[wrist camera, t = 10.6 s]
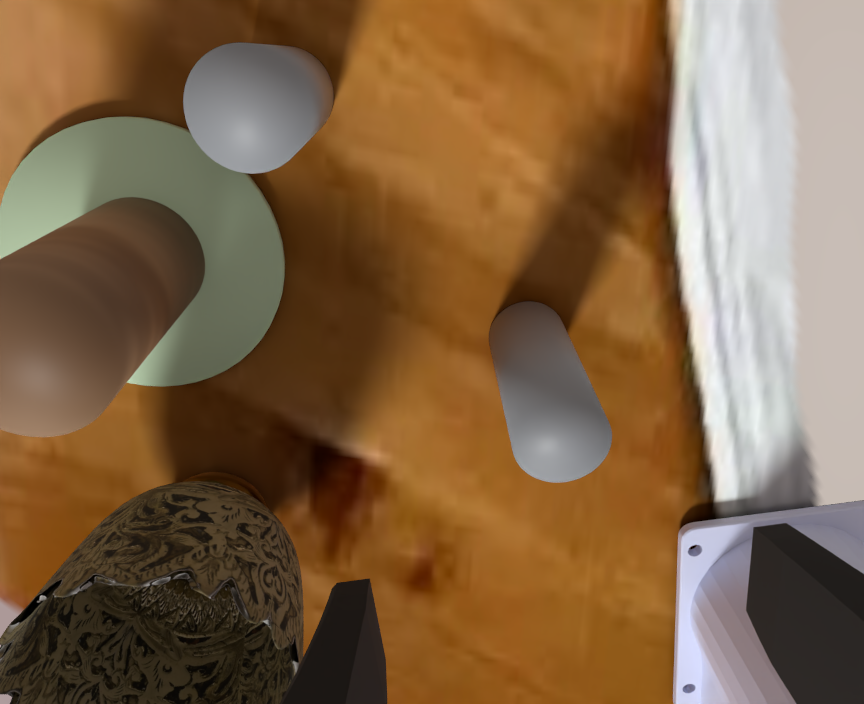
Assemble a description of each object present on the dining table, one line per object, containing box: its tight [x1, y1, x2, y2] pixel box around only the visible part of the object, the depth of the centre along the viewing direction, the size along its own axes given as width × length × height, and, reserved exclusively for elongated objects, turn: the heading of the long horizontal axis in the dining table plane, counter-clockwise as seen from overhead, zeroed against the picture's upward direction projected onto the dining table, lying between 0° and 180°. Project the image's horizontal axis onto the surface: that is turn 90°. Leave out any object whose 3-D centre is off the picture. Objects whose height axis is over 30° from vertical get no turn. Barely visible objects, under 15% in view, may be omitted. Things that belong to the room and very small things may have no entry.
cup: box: [0, 472, 303, 704], centre depth 21 cm, size 8×7×8 cm
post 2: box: [489, 301, 612, 482], centre depth 20 cm, size 2×2×6 cm
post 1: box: [183, 42, 334, 174], centre depth 16 cm, size 2×2×6 cm
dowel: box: [0, 197, 205, 437], centre depth 17 cm, size 4×4×7 cm
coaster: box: [0, 116, 285, 386], centre depth 20 cm, size 8×8×1 cm
